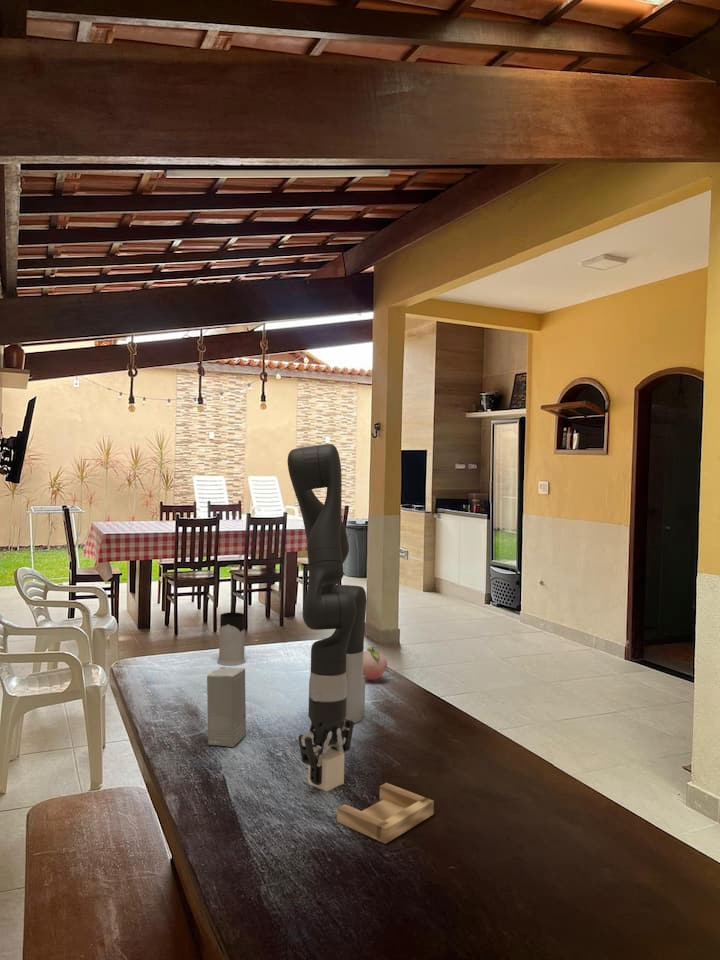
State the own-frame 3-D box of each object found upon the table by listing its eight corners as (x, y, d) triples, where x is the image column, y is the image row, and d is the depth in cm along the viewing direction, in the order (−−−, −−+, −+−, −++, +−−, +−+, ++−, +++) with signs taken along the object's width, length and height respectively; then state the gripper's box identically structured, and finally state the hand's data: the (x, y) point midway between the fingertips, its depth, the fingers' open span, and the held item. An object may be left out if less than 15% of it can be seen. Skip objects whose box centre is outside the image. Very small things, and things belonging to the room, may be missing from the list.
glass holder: (213, 664, 226) (214, 616, 226) (229, 653, 240) (229, 608, 240) (240, 666, 225) (241, 618, 225) (254, 655, 239) (255, 609, 239)
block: (325, 775, 147) (326, 746, 147) (343, 783, 144) (344, 753, 144) (308, 783, 144) (308, 753, 143) (326, 791, 140) (327, 760, 140)
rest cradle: (385, 795, 139) (386, 782, 139) (433, 814, 132) (433, 800, 132) (336, 821, 128) (337, 807, 128) (385, 843, 121) (386, 829, 121)
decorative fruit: (351, 678, 215) (352, 644, 215) (376, 675, 219) (377, 642, 219) (365, 687, 207) (366, 652, 207) (390, 684, 210) (391, 649, 210)
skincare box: (234, 748, 160) (235, 677, 160) (203, 745, 162) (205, 674, 162) (247, 734, 169) (248, 667, 168) (218, 731, 170) (219, 664, 170)
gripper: (338, 682, 151) (336, 763, 152) (288, 697, 140) (286, 785, 141) (365, 690, 147) (363, 773, 147) (316, 706, 136) (314, 797, 136)
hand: (326, 778), depth 144 cm, fingers closed on block, 5 cm apart
